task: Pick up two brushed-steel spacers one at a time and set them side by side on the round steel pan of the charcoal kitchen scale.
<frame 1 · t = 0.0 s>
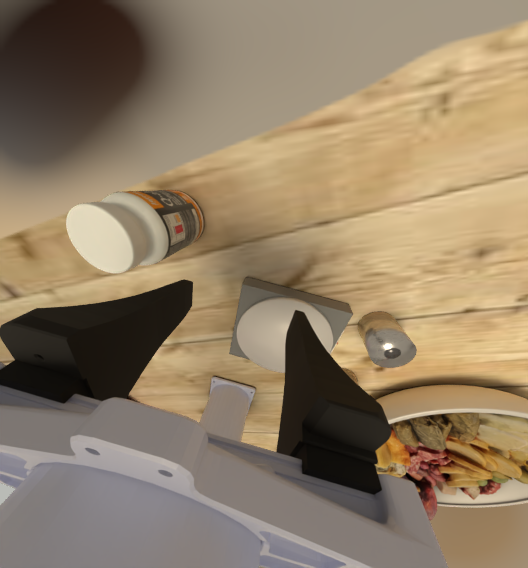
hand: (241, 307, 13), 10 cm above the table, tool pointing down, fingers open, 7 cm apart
kitchen scale: (284, 326, 26), on the table
bowl: (429, 428, 32), on the table
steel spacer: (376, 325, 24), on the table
pill bottle: (182, 218, 21), on the table
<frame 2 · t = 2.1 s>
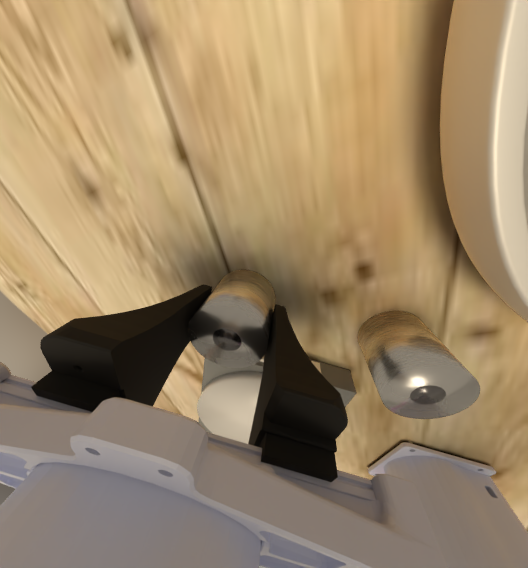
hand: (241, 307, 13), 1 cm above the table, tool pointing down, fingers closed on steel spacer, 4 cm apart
kitchen scale: (265, 393, 19), on the table
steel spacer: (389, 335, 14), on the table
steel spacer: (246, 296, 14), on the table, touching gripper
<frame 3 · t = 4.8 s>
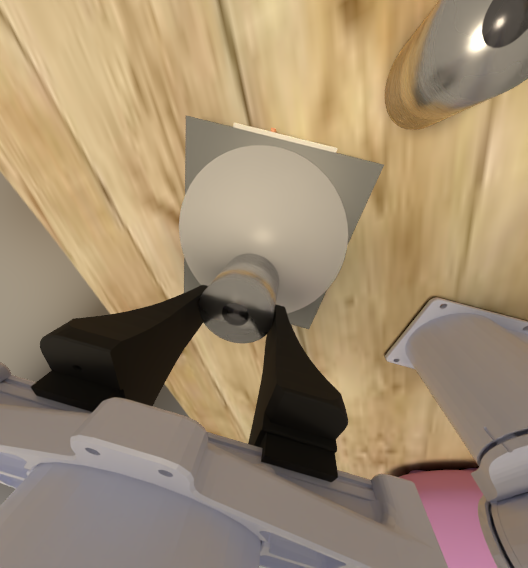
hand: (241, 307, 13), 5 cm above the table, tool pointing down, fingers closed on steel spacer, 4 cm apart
kitchen scale: (264, 238, 16), on the table
teapot: (449, 483, 30), on the table
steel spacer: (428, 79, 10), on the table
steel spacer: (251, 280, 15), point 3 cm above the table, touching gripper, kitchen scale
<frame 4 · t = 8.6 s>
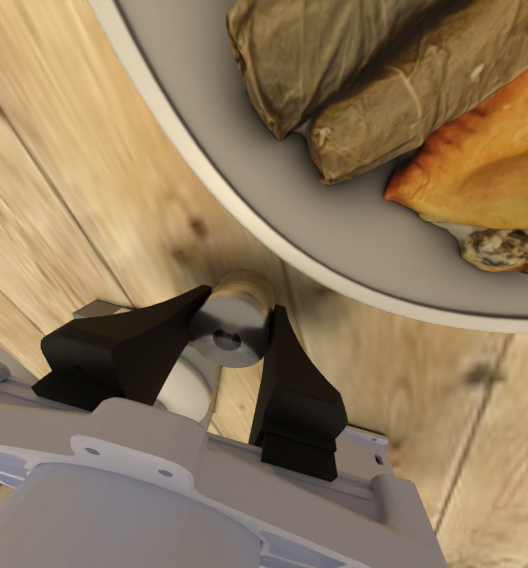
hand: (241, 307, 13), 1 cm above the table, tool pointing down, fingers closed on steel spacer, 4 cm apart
kitchen scale: (163, 364, 19), on the table
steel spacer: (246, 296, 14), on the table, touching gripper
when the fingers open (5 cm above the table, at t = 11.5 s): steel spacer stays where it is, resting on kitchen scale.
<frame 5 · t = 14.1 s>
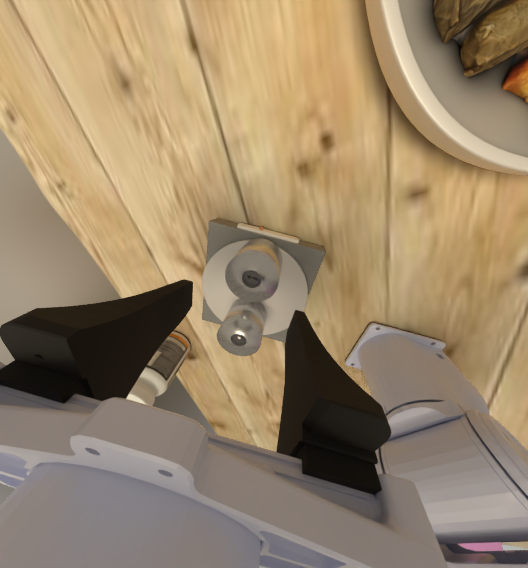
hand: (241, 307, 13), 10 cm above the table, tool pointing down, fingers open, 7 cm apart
kitchen scale: (257, 283, 23), on the table
teapot: (407, 461, 38), on the table
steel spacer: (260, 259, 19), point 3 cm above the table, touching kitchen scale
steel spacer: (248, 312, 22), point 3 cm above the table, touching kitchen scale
pill bottle: (176, 341, 31), on the table
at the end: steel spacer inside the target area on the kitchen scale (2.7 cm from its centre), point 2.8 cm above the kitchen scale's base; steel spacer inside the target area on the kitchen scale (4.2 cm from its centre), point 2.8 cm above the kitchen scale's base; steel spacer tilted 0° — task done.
